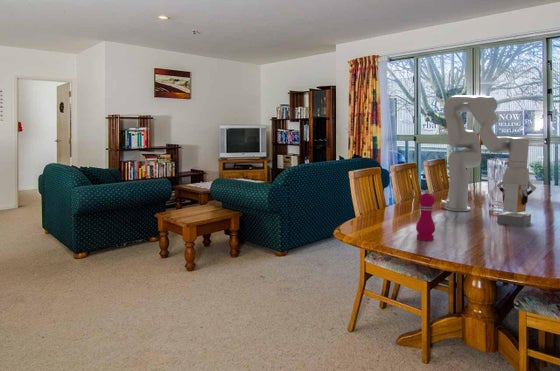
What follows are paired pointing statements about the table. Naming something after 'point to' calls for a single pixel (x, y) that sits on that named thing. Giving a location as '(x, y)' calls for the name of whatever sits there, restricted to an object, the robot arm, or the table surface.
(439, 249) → the table surface
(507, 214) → the plinth
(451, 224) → the table surface
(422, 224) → the pepper mill
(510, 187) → the small box
